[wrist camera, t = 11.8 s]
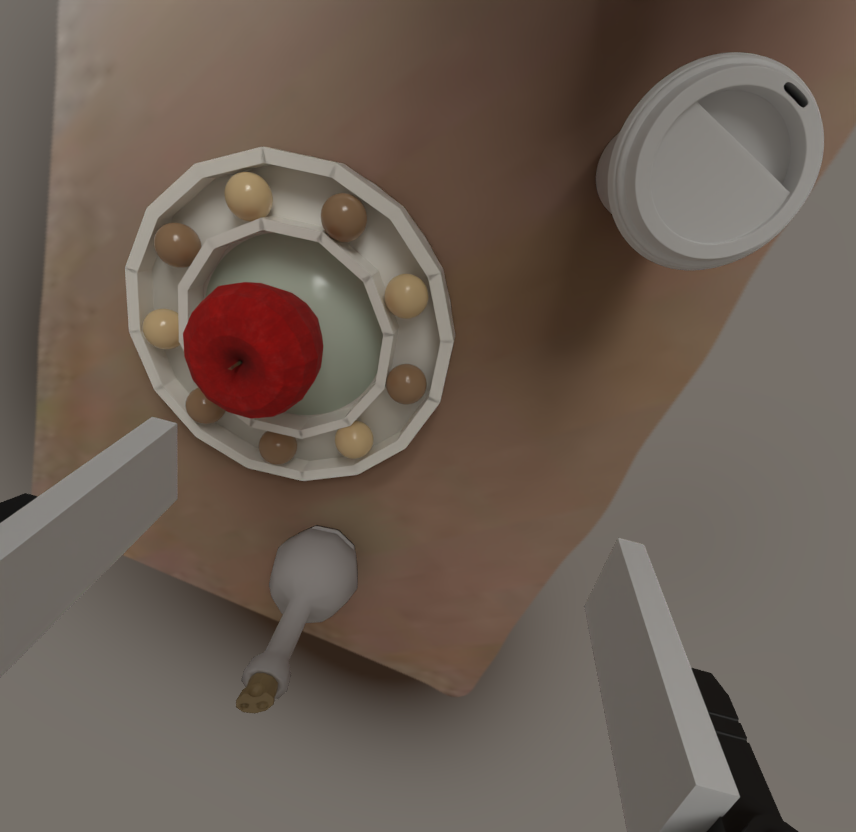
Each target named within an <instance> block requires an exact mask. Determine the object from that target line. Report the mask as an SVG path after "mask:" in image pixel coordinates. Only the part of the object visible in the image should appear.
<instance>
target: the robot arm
mask: <svg viewBox="0 0 856 832" xmlns="http://www.w3.org/2000/svg"><path fill="white" fill-rule="evenodd" d="M176 500H177V423H174V422H170V421H166V420H162V419H159V418H155V417H151V418H150V419H148V420H147V421H145V422H144V423H143V424H141V425H140V426H138V427H137V428H135V429H134V430H133V431H131V432H130V433H128V434H127V435H125V436H124V437H123V438H121V439H120V440H118V441H117V442H115V443H114V444H113V445H111V446H110V447H108V448H107V449H105V450H104V451H103V452H101V453H100V454H98V455H97V456H95V457H94V458H93V459H91V460H90V461H88V462H87V463H85V464H84V465H83V466H81V467H80V468H78V469H77V470H75V471H74V472H73V473H71V474H70V475H68V476H67V477H65V478H64V479H63V480H61V481H60V482H58V483H57V484H55V485H54V486H53V487H51V488H50V489H48V490H47V491H45V492H44V493H43V494H41V495H40V496H34V495H30V494H26V493H25V494H22V495H20V496H17V497H14V498H12V499H9V500H6V501H4V502H1V503H0V678H1V676H2V675H4V673H5V672H7V671H8V669H10V668H11V667H12V665H13V664H14V663H15V662H16V661H17V660H18V659H19V658H20V657H21V656H22V655H23V654H24V653H25V652H26V651H27V650H28V649H29V648H30V647H31V646H32V645H33V644H34V643H35V642H36V641H37V640H38V639H39V638H40V637H41V636H42V635H43V634H44V633H45V632H46V631H47V630H48V629H49V628H50V627H51V626H52V625H53V624H54V623H55V622H56V621H57V620H58V619H59V618H60V617H61V616H62V615H63V614H64V613H65V612H66V611H67V610H68V609H69V608H70V607H71V606H72V605H73V604H74V603H75V602H76V601H77V600H78V599H79V598H80V597H81V596H82V595H83V594H84V593H85V592H86V591H87V590H88V589H89V588H90V587H91V586H92V585H93V584H94V583H95V582H96V581H97V580H98V579H99V578H100V576H102V575H103V574H104V573H105V572H106V571H107V570H108V569H109V568H110V567H111V566H112V565H113V564H114V563H115V562H116V561H117V559H119V558H120V557H121V556H122V555H123V554H124V553H125V552H126V550H127V549H128V548H129V547H130V546H131V545H132V544H133V543H134V542H135V541H136V540H137V539H138V538H139V537H140V536H141V535H142V534H143V533H144V532H145V531H146V530H147V529H148V528H149V527H150V526H151V525H152V524H153V523H154V522H155V521H156V520H157V519H158V518H159V517H160V516H161V515H162V514H163V513H164V512H165V511H166V510H167V509H168V508H169V507H170V506H171V505H172V504H173V503H174V502H175V501H176ZM584 607H585V612H586V618H587V623H588V628H589V634H590V639H591V644H592V649H593V654H594V660H595V665H596V670H597V676H598V681H599V686H600V692H601V697H602V702H603V707H604V713H605V718H606V723H607V729H608V734H609V739H610V744H611V750H612V755H613V760H614V766H615V771H616V776H617V781H618V787H619V791H620V797H621V802H622V808H623V813H624V818H625V824H626V828H627V832H798V831H797V830H795V829H794V828H793V827H791V826H790V825H789V824H787V823H786V822H784V821H783V819H782V817H781V816H780V813H779V811H778V809H777V806H776V804H775V802H774V800H773V797H772V795H771V792H770V790H769V788H768V785H767V783H766V781H765V779H764V776H763V774H762V772H761V770H760V767H759V765H758V762H757V760H756V758H755V755H754V753H753V751H752V748H751V746H750V744H749V743H747V741H746V740H747V737H746V735H745V732H744V730H743V728H742V725H741V723H738V716H737V714H736V711H735V709H734V707H733V705H732V702H731V700H730V698H729V695H728V694H727V693H726V692H725V691H724V689H723V688H722V686H721V685H720V684H719V683H718V681H717V680H716V679H715V677H714V676H713V675H712V674H711V673H709V672H705V671H701V670H698V669H694V668H691V666H690V664H689V661H688V658H687V656H686V654H685V651H684V648H683V646H682V643H681V640H680V638H679V635H678V632H677V630H676V627H675V625H674V622H673V619H672V616H671V614H670V611H669V609H668V606H667V603H666V601H665V598H664V595H663V593H662V590H661V588H660V585H659V582H658V580H657V577H656V574H655V572H654V569H653V567H652V564H651V561H650V559H649V556H648V554H647V551H646V548H645V546H644V544H640V543H636V542H633V541H629V540H625V539H621V538H618V539H617V540H616V542H615V544H614V547H613V549H612V551H611V553H610V555H609V557H608V559H607V561H606V563H605V565H604V567H603V569H602V571H601V573H600V575H599V577H598V579H597V581H596V583H595V585H594V588H593V589H592V591H591V593H590V596H589V598H588V600H587V602H586V604H585V606H584Z"/></svg>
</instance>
